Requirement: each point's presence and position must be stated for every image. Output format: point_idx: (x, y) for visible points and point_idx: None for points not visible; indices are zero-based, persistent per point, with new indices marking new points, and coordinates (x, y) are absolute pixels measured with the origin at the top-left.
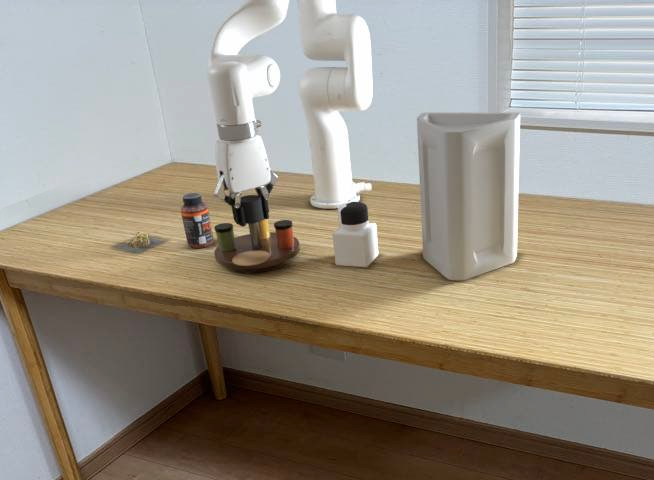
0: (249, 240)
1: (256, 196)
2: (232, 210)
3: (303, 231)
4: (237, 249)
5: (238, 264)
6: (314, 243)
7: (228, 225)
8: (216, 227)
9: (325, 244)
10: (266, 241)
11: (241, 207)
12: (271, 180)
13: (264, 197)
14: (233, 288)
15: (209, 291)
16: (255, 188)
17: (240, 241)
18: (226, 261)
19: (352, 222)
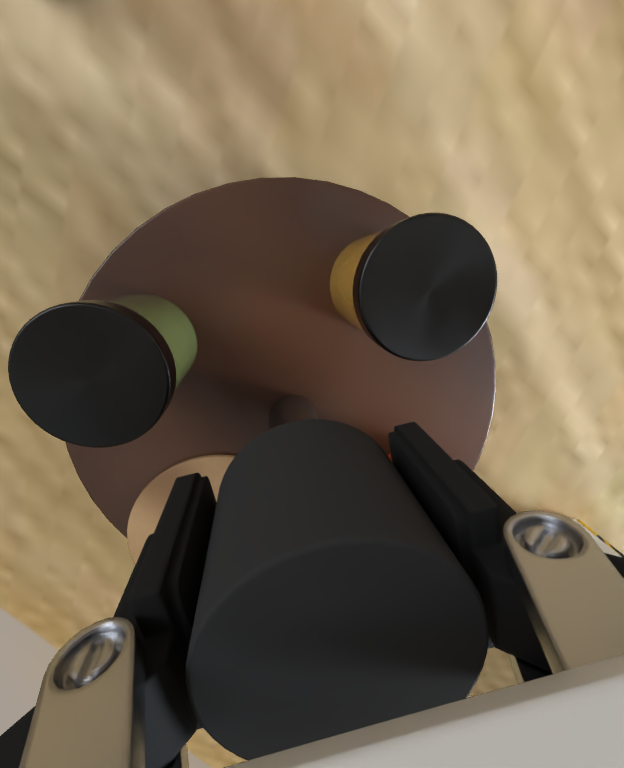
0: (294, 297)
1: (454, 645)
2: (120, 609)
3: (610, 166)
4: (193, 388)
5: None
6: (551, 353)
7: (133, 391)
8: (25, 377)
9: (573, 391)
10: (362, 370)
11: (199, 725)
12: None
13: (513, 666)
14: (114, 587)
15: (18, 570)
16: (554, 664)
17: (245, 276)
18: (101, 507)
19: None
